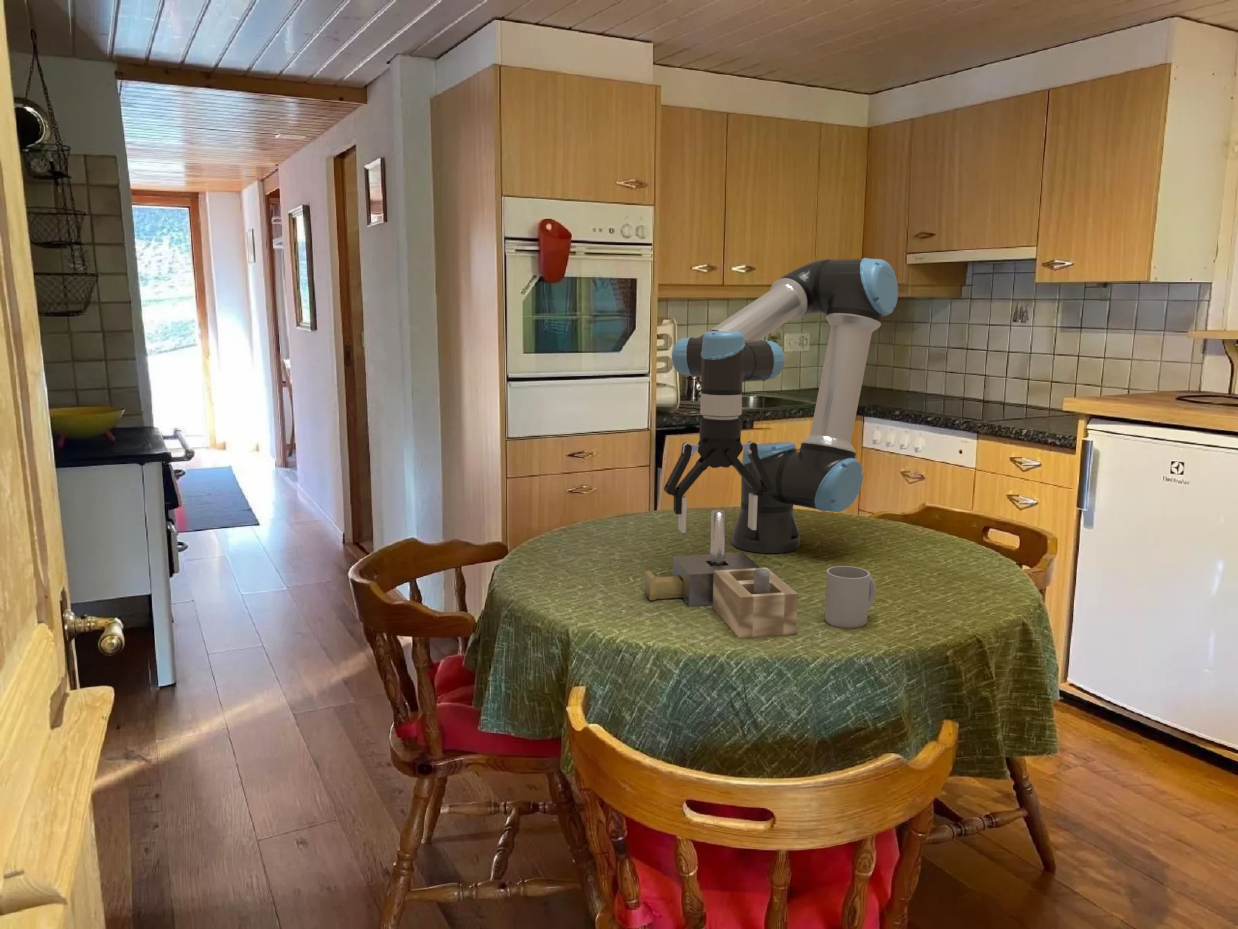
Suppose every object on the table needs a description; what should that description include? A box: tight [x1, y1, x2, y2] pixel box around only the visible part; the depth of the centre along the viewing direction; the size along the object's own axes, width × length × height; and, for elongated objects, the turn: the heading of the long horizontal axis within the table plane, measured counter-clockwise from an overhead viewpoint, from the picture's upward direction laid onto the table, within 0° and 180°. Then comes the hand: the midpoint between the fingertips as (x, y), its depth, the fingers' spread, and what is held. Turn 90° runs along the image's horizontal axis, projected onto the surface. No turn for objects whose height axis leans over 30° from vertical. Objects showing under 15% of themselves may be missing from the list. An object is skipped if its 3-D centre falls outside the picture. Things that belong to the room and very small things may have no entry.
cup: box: [824, 565, 877, 629], centre depth 160 cm, size 7×10×9 cm
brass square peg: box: [644, 570, 683, 601], centre depth 173 cm, size 10×4×4 cm, turn 101°
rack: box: [712, 567, 799, 639], centre depth 160 cm, size 10×15×10 cm, turn 11°
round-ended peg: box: [710, 509, 726, 566], centre depth 173 cm, size 3×3×16 cm
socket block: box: [672, 552, 761, 607], centre depth 174 cm, size 14×12×6 cm
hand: (717, 529), depth 172 cm, fingers open, 13 cm apart
